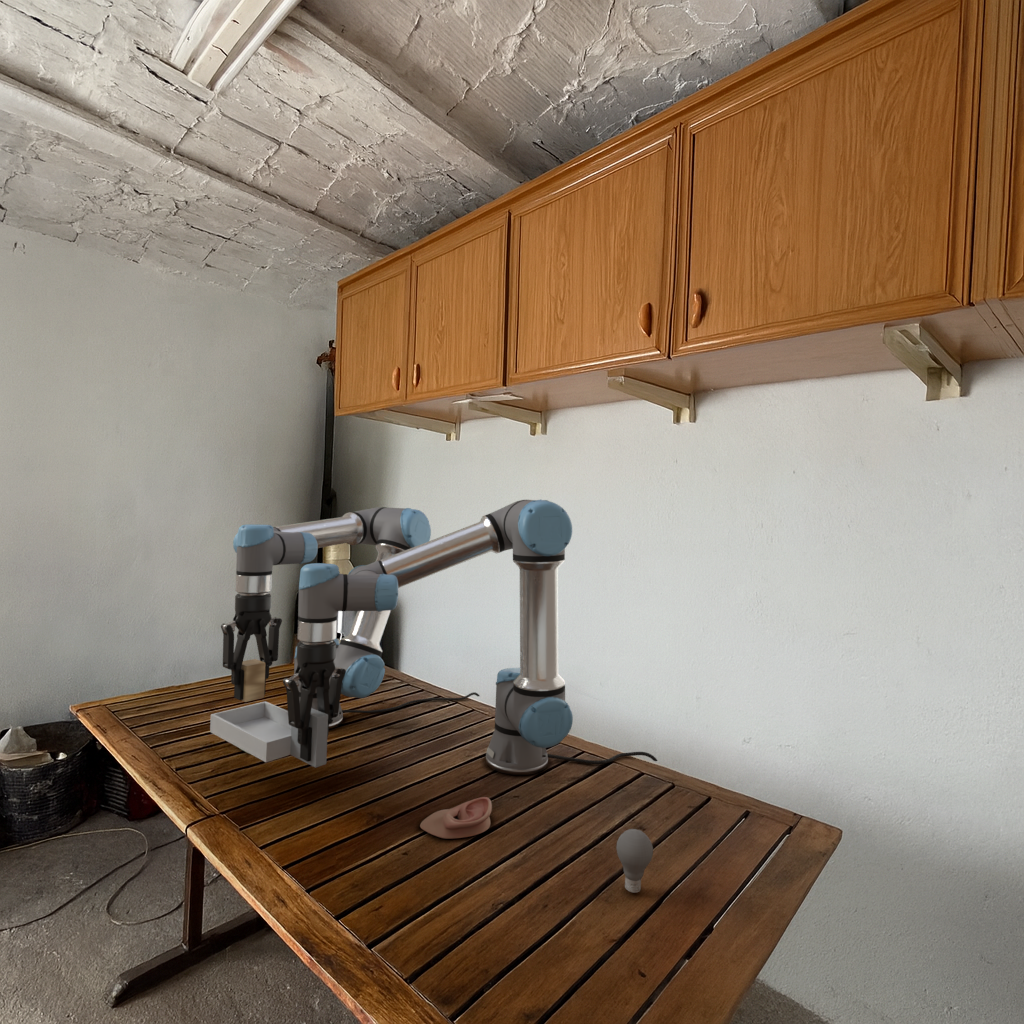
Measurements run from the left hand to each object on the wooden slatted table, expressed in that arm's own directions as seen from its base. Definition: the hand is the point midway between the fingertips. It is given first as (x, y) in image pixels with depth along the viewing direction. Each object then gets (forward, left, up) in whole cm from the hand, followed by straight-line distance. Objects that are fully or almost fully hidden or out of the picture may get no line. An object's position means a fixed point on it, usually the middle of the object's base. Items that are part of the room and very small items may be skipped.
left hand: (249, 695), depth 143 cm
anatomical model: (-16, +50, -18) cm, 55 cm away
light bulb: (-21, +86, -18) cm, 90 cm away
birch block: (0, 0, 0) cm, 0 cm away
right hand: (0, +25, -7) cm, 26 cm away
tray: (0, +12, -8) cm, 14 cm away
